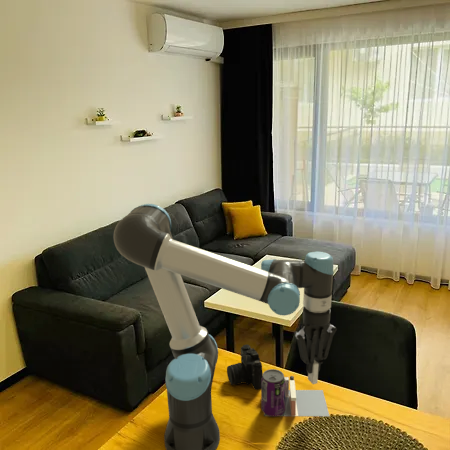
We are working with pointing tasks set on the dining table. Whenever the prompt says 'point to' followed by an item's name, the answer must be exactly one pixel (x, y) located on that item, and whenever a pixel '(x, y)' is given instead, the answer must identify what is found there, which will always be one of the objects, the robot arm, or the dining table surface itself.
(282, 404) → the beverage can
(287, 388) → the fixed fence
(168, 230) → the robot arm
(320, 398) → the mat
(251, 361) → the camera
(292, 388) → the cream pink flat block
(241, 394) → the dining table surface
